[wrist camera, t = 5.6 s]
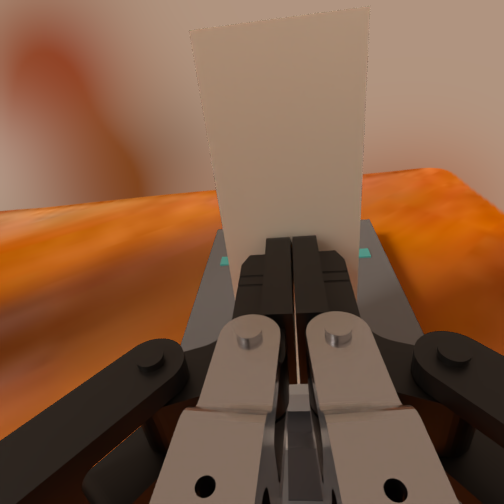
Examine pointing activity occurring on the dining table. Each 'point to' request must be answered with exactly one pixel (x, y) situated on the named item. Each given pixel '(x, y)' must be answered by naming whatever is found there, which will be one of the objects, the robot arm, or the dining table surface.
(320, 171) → the beige tall block
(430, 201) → the dining table surface
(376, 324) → the fader board
